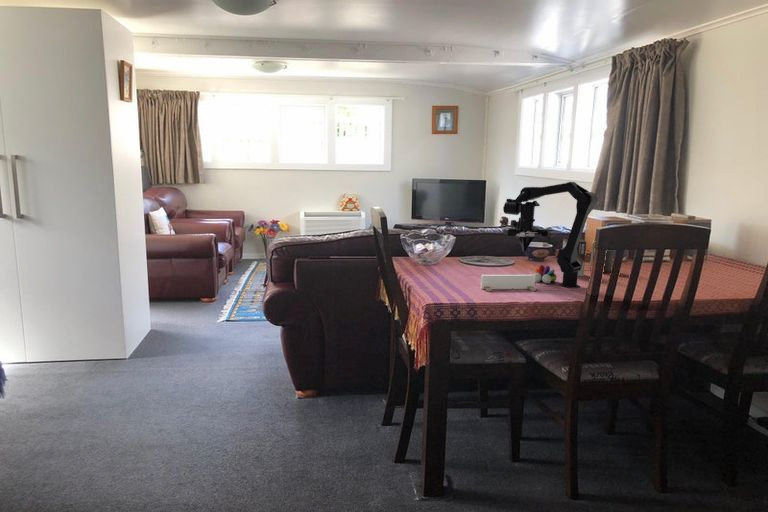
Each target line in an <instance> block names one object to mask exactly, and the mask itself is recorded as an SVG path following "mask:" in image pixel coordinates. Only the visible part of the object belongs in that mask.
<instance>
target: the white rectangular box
mask: <svg viewBox="0 0 768 512" xmlns="http://www.w3.org/2000/svg"><path fill="white" fill-rule="evenodd" d="M535 278H536V275H534V274H481V275H480V289H481V288H482V289H481V290H485V291H486V292H492V291H493V290H528V291H530V290H531V292H536V291H537V288H536V282H535ZM512 288H513V289H512Z"/></svg>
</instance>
